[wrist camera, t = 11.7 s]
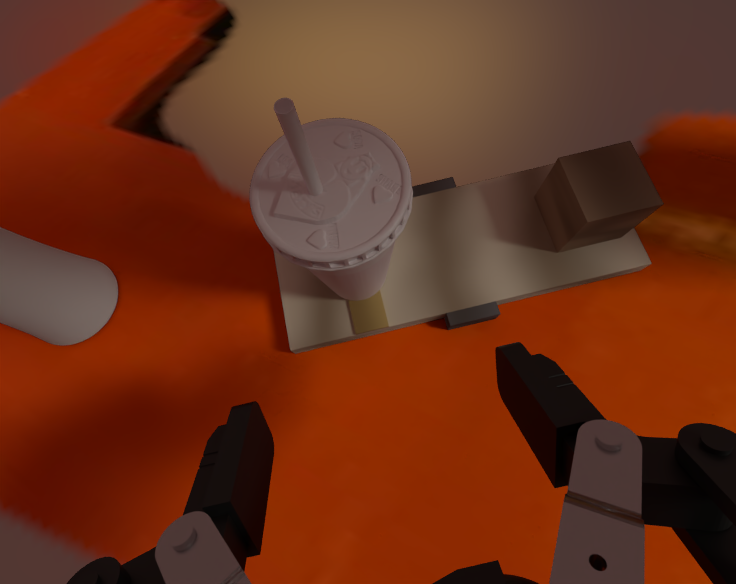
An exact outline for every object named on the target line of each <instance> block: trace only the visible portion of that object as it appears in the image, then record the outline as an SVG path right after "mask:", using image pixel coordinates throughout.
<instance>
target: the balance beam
mask: <svg viewBox="0 0 736 584" xmlns="http://www.w3.org/2000/svg"><path fill="white" fill-rule="evenodd" d="M412 189H413V199H412V209H411V213H410V216H409V218H408V220H407V223H406V225H405V228H404V230H403V231H402V233H401V234H400V235H399V236H398V238H397V239H396V240H395V244H394V248H393V252H392V256H391V260H390V264H389V268H388V272H387V275H386V279H385V282H384V284H383V286H382V287H381V289H380V290H379V291H378V292H377V293H376V294H375V295H373V296H372V297H370V298H367V299H364V300H359V301H352V300H347V299H344V298H342V297H340V296H339V295H337V294H336V293H335V292H334V291H333V290H331V289H330V288H329V287H328V286H327V285H326V284H324V283H323V282H322V281H321V280H320V279H319V278H317V277H316V276H315V275H314V274H313V273H312V272H310V271H309V270H308V269H307V268H305V267H302V266H299V265H296V264H294V263H291V262H289V261H288V260H287V259H285V258H284V257H282V256H281V255H280V254H278V253H277V252H276V251H274V256H275V262H276V268H277V274H278V280H279V286H280V292H281V298H282V304H283V310H284V316H285V322H286V328H287V334H288V340H289V346H290V351H292V352H293V353H295V354H296V353H300V352H304V351H309V350H313V349H317V348H321V347H325V346H329V345H333V344H338V343H342V342H346V341H350V340H354V339H358V338H363V337H367V336H371V335H375V334H379V333H383V332H387V331H392V330H396V329H400V328H404V327H408V326H412V325H416V324H421V323H425V322H429V321H433V320H437V319H441V318H444V319H445V322H446V325H447V329H448V330H450V329H455V328H459V327H463V326H467V325H471V324H475V323H479V322H484V321H488V320H492V319H496V318H497V317H498V316H499V315H500V312H499V309H498V306H497V305H499V304H503V303H508V302H512V301H516V300H520V299H524V298H528V297H533V296H537V295H541V294H545V293H549V292H553V291H557V290H562V289H566V288H570V287H574V286H578V285H582V284H586V283H591V282H595V281H599V280H603V279H607V278H611V277H615V276H620V275H624V274H628V273H632V272H636V271H640V270H642V269H643V268H645V267H647V266H648V265H650V264H652V263H651V261H650V259H649V257H648V255H647V253H646V251H645V249H644V247H643V245H642V243H641V241H640V239H639V237H638V235H637V233H636V231H635V229H634V227H635V226H636V225H638V224H639V223H640V222H641V221H643V220H644V219H645V218H647V217H648V216H649V215H650V214H652V213H653V212H654V211H655V210H657V209H658V208H659V207H660V206H662V205H663V204H664V203H663V202H662V200H661V198H660V196H659V194H658V192H657V190H656V188H655V187H654V185H653V183H652V181H651V179H650V177H649V175H648V173H647V171H646V170H645V168H644V166H643V164H642V162H641V160H640V158H639V156H638V155H637V153H636V151H635V149H634V147H633V145H632V143H631V141H627V142H623V143H619V144H614V145H611V146H606V147H602V148H598V149H594V150H589V151H585V152H581V153H577V154H573V155H569V156H564V157H560V158H558V159H557V161H556V163H555V164H551V165H546V166H543V167H538V168H534V169H530V170H526V171H521V172H517V173H514V174H509V175H505V176H500V177H496V178H493V179H488V180H485V181H480V182H476V183H471V184H467V185H463V186H459V187H456V185H455V182H454V179H453V177H450V178H447V179H442V180H438V181H434V182H430V183H426V184H422V185H417V186H414V187H412ZM273 250H274V249H273Z"/></svg>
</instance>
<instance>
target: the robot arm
mask: <svg viewBox="0 0 736 584" xmlns="http://www.w3.org/2000/svg"><path fill="white" fill-rule="evenodd" d="M496 369H497V384H498V389H499V392H500V395H501V398H502V400H503V402H504V404H505V405H506V407H507V409H508V411H509V412H510V414H511V416H512V417H513V419H514V421H515V422H516V424H517V426H518V427H519V429H520V431H521V432H522V434H523V436H524V437H525V439H526V441H527V442H528V444H529V446H530V447H531V449H532V451H533V453H534V454H535V456H536V458H537V459H538V461H539V463H540V464H541V466H542V468H543V469H544V471H545V473H546V474H547V476H548V478H549V479H550V481H551V483H552V484H553V486H554V488H558V487H562V486H567V485H568V492H567V494H565V498H564V503H563V509H562V515H561V520H560V526H559V532H558V537H557V543H556V549H555V554H554V560H553V566H552V571H551V577H550V583H549V584H644V541H645V529H644V524H647V525H656V526H666V527H671V528H672V529H673V530H674V532H675V533H676V534H677V536H678V537H679V538H680V540H681V541H682V542H683V544H684V545H685V546H686V548H687V549H688V550H689V552H690V553H691V554H692V556H693V557H694V559H695V560H696V561H697V563H698V564H699V565H700V567H701V568H702V569H703V571H704V572H705V573H706V575H707V576H708V577H709V579H710V580H711V581H712V583H713V584H736V433H734V432H732V431H730V430H727V429H725V428H723V427H719V426H716V425H712V424H705V423H695V424H689V425H687V426H684V427H683V428H682V429H681V430H680V431H679V434H678V438H656V437H642V436H637V435H635V433H633V432H632V431H631V430H630V429H628V428H627V427H625V426H623V425H621V424H619V423H616V422H613V421H609V420H606V419H605V418H604V417H603V416H602V415H601V413H600V412H599V411H598V410H597V409H596V408H595V407H594V406H593V404H592V403H591V402H590V401H589V400H588V399H587V398H586V396H585V395H584V394H583V393H582V392H581V391H580V390H579V389H578V387H577V386H576V385H574V384H573V382H572V381H571V379H570V378H569V377H568V376H567V375H565V373H564V371H563V370H562V369H561V368H560V367H559V366H558V365H557V364H556V362H554V361H553V360H551V359H549V358H547V357H545V356H544V355H542V354H536V355H532V356H531V354H530V353H529V352H528V351H527V350H526V348H525V347H524V346H523V345H522V344H521V343H520V342H517V343H512V344H508V345H503V346H499V347H496ZM203 456H204V457H202V460H201V463H200V466H199V467H200V469H198V472H197V475H196V478H195V481H194V484H193V487H192V490H191V493H190V495H189V498H188V501H187V504H186V507H185V510H184V513H183V516H181V517H180V518H178V519H177V520H175V521H174V522H173V523H172V524H171V525H170V526H169V527H168V528H167V529H166V530H165V531H164V533H163V534H162V535H161V537H160V539H159V541H158V543H157V546H156V547H154V548H153V549H151V550H149V551H147V552H146V553H144V554H142V555H140V556H138V557H136V558H134V559H132V560H131V561H129V562H127V563H125V564H123V565H121V564H120V563H119V562H118V561H117V560H116V559H115V558H112V557H103V558H99V559H97V560H95V561H93V562H91V563H89V564H87V565H86V566H85V567H83V568H82V569H80V570H79V571H78V572H77V573H76V574H75V575H74V576H73V577H72V578H71V579H70V580H69V581H68V583H67V584H251V583H250V581H249V579H248V578H247V576H246V575H245V573H244V570H245V564H246V558H247V557H251V556H256V555H260V552H261V545H262V538H263V530H264V523H265V516H266V508H267V501H268V494H269V486H270V479H271V472H272V464H273V457H274V442H273V437H272V434H271V432H270V429H269V427H268V425H267V422H266V420H265V418H264V416H263V413H262V411H261V409H260V406H259V404H258V403H257V402H250V403H246V404H242V405H237V406H233V407H232V408H231V411H230V414H229V417H228V421H227V424H226V425H221V426H218V428H217V429H216V430H215V432H214V433H213V434H212V436H211V437H210V438H209V440H208V442H207V445H206V448H205V451H204V454H203ZM433 584H538V583H536V582H534V581H532V580H529V579H526V578H523V577H519V576H514V575H507V574H503V573H502V570H501V567H500V565H499V562H498V560H497V561H493V562H488V563H484V564H480V565H475V566H471V567H467V568H462V569H458V570H456V571H454V572H452V573H450V574H449V575H447V576H445V577H443V578H442V579H440V580H438V581H436V582H435V583H433Z"/></svg>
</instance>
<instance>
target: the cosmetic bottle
mask: <svg viewBox="0 0 736 584" xmlns="http://www.w3.org/2000/svg"><path fill="white" fill-rule="evenodd" d="M117 299H118V285H117V281H116V278H115V276H114V274H113V272H112V271H111V270H110V269H109V268H108V267H107V266H106V265H105V264H103V263H101V262H100V261H97V260H94V259H90V258H86V257H82V256H79V255H76V254H72V253H69V252H66V251H63V250H60V249H57V248H54V247H51V246H48V245H45V244H42V243H40V242H37V241H34V240H32V239H29V238H26V237H24V236H21V235H18V234H16V233H13V232H11V231H8V230H6V229H3V228H1V227H0V323H2V324H5V325H8V326H10V327H13V328H15V329H18V330H21V331H23V332H26V333H28V334H30V335H33V336H35V337H37V338H39V339H41V340H44V341H46V342H48V343H51V344H54V345H72V344H76V343H79V342H82V341H84V340H86V339H88V338H90V337H91V336H93V335H94V334H96V333H97V332H98V331H99V330H100V329H101V328H102V327H103V326H104V325H105V324H106V323H107V322H108V320H109V319H110V317H111V315H112V314H113V312H114V309H115V307H116V304H117Z"/></svg>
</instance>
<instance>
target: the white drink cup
mask: <svg viewBox="0 0 736 584" xmlns="http://www.w3.org/2000/svg"><path fill="white" fill-rule="evenodd" d="M274 110H275V112H276V114H277V117H278V120H279V122H280V124H281V127H282V129H283V131H284V135H283V136H282V137H280V138H279V139H278V140H277V141H276V142H275V143H273V144H272V145H271V146H270V147H269V148H268V150H267V151H266V152H265V153H264V155H263V156H262V158H261V159H260V161H259V163H258V164H257V166H256V169H255V171H254V174H253V177H252V180H251V185H250V206H251V211H252V214H253V217H254V220H255V222H256V224H257V226H258V228H259V229H260V231H261V232H262V234H263V236H264V238H265V239H266V240H267V242H268V243H269V244H270V246H271V247H272V248H273V249H274V251H276V252H277V253H278V254H280V255H281V256H282V257H284V258H285V259H287V260H288V261H289V262H291V263H294V264H296V265H299V266H302V267H305V268H307V269H308V270H309V271H310V272H312V273H313V274H314V275H315V276H316V277H317V278H319V279H320V280H321V281H322V282H323V283H324V284H326V285H327V286H328V287H329V288H330V289H331V290H333V291H334V292H335V293H336V294H337V295H339V296H340V297H342V298H344V299H347V300H352V301H359V300H364V299H367V298H370V297H372V296H373V295H375V294H376V293H377V292H378V291H379V290H380V289H381V287H382V286H383V284H384V282H385V279H386V275H387V272H388V268H389V264H390V260H391V256H392V252H393V248H394V244H395V240H396V239H397V238H398V236H399V235H400V234H401V233H402V231H403V230H404V228H405V225H406V223H407V220H408V218H409V216H410V213H411V209H412V199H413V189H412V183H411V173H410V168H409V165H408V162H407V160H406V157H405V156H404V154H403V152H402V150H401V149H400V148H399V146H398V145H397V144H396V143H395V141H393V139H392V138H390V137H389V136H388V135H387V134H386V133H384V132H383V131H381V130H379V129H378V128H376V127H374V126H372V125H370V124H367V123H364V122H361V121H357V120H352V119H345V118H330V119H322V120H317V121H313V122H309V123H306V124H303V125H301V124H300V121H299V118H298V115H297V112H296V109H295V106H294V103H293V101H292V100H291V99H289V98H281V99H279V100H277V101H276V102H275V104H274Z"/></svg>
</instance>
